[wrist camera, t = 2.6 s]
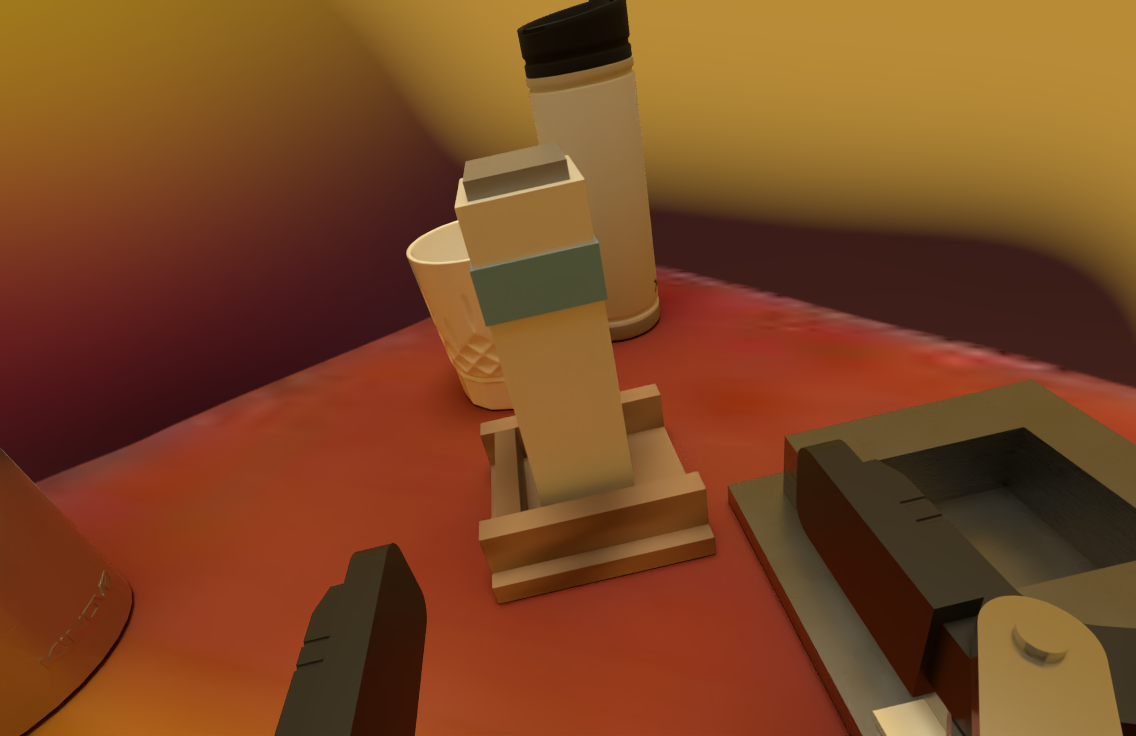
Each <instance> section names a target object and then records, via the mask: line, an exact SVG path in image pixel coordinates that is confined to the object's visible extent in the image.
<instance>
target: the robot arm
mask: <svg viewBox="0 0 1136 736" xmlns="http://www.w3.org/2000/svg"><path fill="white" fill-rule="evenodd" d="M796 507H797V513H798V516H799V520H800V522H801V525H802V527H803V529H804V531H805V533H806V535H807V537H808V538H809V540H810V541H811V543H812V544H813V546H814V547H815V549H816V550H817V552H818V554H819V555H820V557H821V558H822V560H823V561H824V563H825V564H826V566H827V567H828V569H829V570H830V572H831V573H832V575H833V577H834V578H835V580H836V581H837V583H838V584H839V586H840V587H841V589H842V590H843V592H844V593H845V595H846V597H847V598H848V600H849V601H850V603H851V604H852V606H853V607H854V609H855V610H856V612H857V613H858V615H859V617H860V618H861V620H862V621H863V623H864V624H865V626H866V627H867V629H868V630H869V632H870V633H871V635H872V637H873V638H874V640H875V641H876V643H877V644H878V646H879V647H880V649H881V650H882V652H883V653H884V655H885V656H886V658H887V660H888V661H889V663H890V664H891V666H892V667H893V669H894V670H895V672H896V673H897V675H898V676H899V678H900V680H901V681H902V683H903V684H904V686H905V687H906V689H907V690H908V692H909V693H910V695H911V696H912V698H914V697H918V696H922V695H926V694H930V693H935V692H936V693H937V695H938V696H939V698H940V699H941V701H942V702H943V703H944V705H945V706H946V708H947V709H948V713H947V722H946V736H1136V628H1124V627H1110V626H1098V625H1090V624H1085V623H1081V622H1080V621H1079V620H1078V619H1077V618H1075V617H1074V616H1072V615H1071V614H1069V613H1068V612H1066V611H1064V610H1062V609H1060V608H1058V607H1057V606H1054V605H1052V604H1049V603H1047V602H1044V601H1041V600H1038V599H1035V598H1030V597H1025V596H1023V595H1022V594H1020V593H1019V592H1018V591H1017V590H1016V589H1015V588H1014V587H1013V586H1012V585H1011V584H1010V583H1009V582H1008V581H1007V580H1006V579H1005V578H1004V577H1003V576H1002V575H1001V574H1000V573H999V572H998V571H997V570H996V569H995V568H994V567H993V566H992V565H991V564H990V563H989V562H988V561H987V560H986V558H985V557H984V556H983V555H982V554H981V553H980V552H979V551H978V550H977V549H976V548H975V547H974V546H973V545H972V544H971V543H970V542H969V541H968V540H967V539H966V538H965V537H964V536H963V535H962V534H961V533H960V532H959V531H958V530H957V529H956V528H955V527H954V525H953V524H952V523H951V522H950V521H949V520H948V519H947V518H945V519H944V518H943V516H942V513H941V512H940V511H939V510H938V509H937V508H936V507H935V506H934V505H933V504H932V503H931V502H930V501H929V500H928V501H927V500H926V499H925V496H924V495H923V494H922V492H921V491H920V490H919V489H918V488H917V487H916V486H915V485H914V484H913V483H912V482H911V481H910V480H909V479H908V478H907V477H906V476H905V475H904V474H902V473H900V472H898V471H897V470H895V469H893V468H891V467H889V466H888V465H886V464H884V463H882V462H880V461H879V460H877V459H874V460H870V461H865V462H863V461H862V460H861V459H860V458H859V457H858V456H857V455H856V454H855V453H854V451H853V450H852V449H851V448H850V447H849V446H848V445H847V444H846V443H845V442H844V441H842V440H840V439H837V440H833V441H828V442H824V443H820V444H816V445H812V446H807V447H803V448H800V449H799V451H798V456H797V488H796ZM131 605H132V590H131V588H130V586H129V584H128V582H127V580H126V579H125V578H124V577H123V576H122V575H121V574H120V573H119V572H118V571H117V570H116V569H115V568H114V567H113V566H112V565H111V564H110V563H109V562H108V561H107V560H106V558H105V557H104V556H103V555H102V554H101V553H100V552H99V551H98V550H97V549H96V548H95V547H94V546H93V545H92V544H91V543H90V542H89V541H88V540H87V539H86V538H85V536H84V535H83V534H82V533H81V532H80V531H79V530H78V529H77V528H76V526H75V525H74V524H73V523H72V522H71V521H70V520H69V519H68V518H67V517H66V516H65V515H64V514H63V513H62V512H61V511H60V510H59V509H58V508H57V507H56V506H55V505H54V503H53V502H52V501H51V500H50V499H49V498H48V497H47V496H46V495H45V494H44V493H43V492H42V491H41V490H40V489H39V488H38V487H37V486H36V485H35V484H34V483H33V482H32V481H31V480H30V479H29V477H28V476H26V474H25V473H24V472H23V471H22V470H21V469H20V468H19V467H18V466H17V465H16V464H15V463H14V462H13V461H12V460H11V459H10V458H9V457H8V456H7V455H6V454H5V452H4V451H3V450H2V449H1V448H0V736H20V735H21V734H23V733H24V732H26V731H27V730H29V729H30V728H31V727H32V726H34V725H35V724H36V723H37V722H39V721H40V720H41V719H42V718H44V717H45V716H46V715H47V714H49V713H50V712H51V711H53V710H54V709H55V708H56V707H57V706H58V705H59V704H61V703H62V702H63V701H64V700H65V699H66V698H67V697H68V696H69V695H70V694H71V693H72V692H73V691H74V690H75V689H76V688H77V687H79V686H80V685H81V684H82V683H83V681H84V680H85V679H86V678H87V677H88V676H89V675H90V674H91V672H92V671H93V670H94V669H95V668H96V667H97V666H98V664H99V663H100V662H101V661H102V660H103V658H104V657H105V656H106V654H107V653H108V651H109V650H110V649H111V647H112V646H113V644H114V643H115V641H116V640H117V639H118V637H119V635H120V633H121V631H122V629H123V627H124V625H125V623H126V621H127V619H128V616H129V612H130V609H131ZM426 624H427V613H426V605H425V600H424V596H423V593H422V591H421V589H420V587H419V585H418V583H417V581H416V579H415V577H414V575H413V573H412V571H411V569H410V568H409V566H408V564H407V562H406V560H405V558H404V556H403V554H402V552H401V550H400V549H399V547H398V546H397V545H396V544H394V543H392V544H388V545H383V546H379V547H375V548H371V549H366V550H362V551H358V552H355V553H354V554H353V555H352V557H351V559H350V563H349V566H348V570H347V574H346V578H345V581H344V584H340V585H336V586H332V587H330V588H329V590H328V591H327V593H326V594H325V596H324V597H323V598H322V600H321V601H320V603H319V604H318V606H317V607H316V609H315V610H314V612H313V613H312V616H311V619H310V622H309V626H308V629H307V632H306V635H305V638H304V647H302V648H301V651H300V655H299V658H298V661H297V664H296V666H297V671H295V672H294V674H293V677H292V680H291V684H290V687H289V690H288V693H287V697H286V700H285V703H284V706H283V710H282V713H281V716H280V719H279V722H278V726H277V729H276V732H275V735H274V736H415V728H416V719H417V709H418V700H419V690H420V681H421V672H422V662H423V653H424V643H425V634H426Z"/></svg>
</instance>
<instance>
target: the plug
mask: <svg viewBox="0 0 1136 736" xmlns="http://www.w3.org/2000/svg"><path fill="white" fill-rule="evenodd" d="M455 211H456V215H457V218H458V222H459V225H460V228H461V232H462V235H463V239H464V242H465V245H466V249H467V252H468V256H469V259H470V275H471V278H472V282H473V285H474V288H475V292H476V295H477V298H478V302H479V305H480V308H481V312H482V315H483V319H484V322H485V325H486V327H487V326H489V327H490V330H491V334H492V337H493V341H494V344H495V347H496V351H497V354H498V358H499V361H500V364H501V368H502V371H503V375H504V378H505V381H506V385H507V388H508V392H509V395H510V398H511V402H512V405H513V409H514V412H515V415H516V419H517V422H518V426H519V429H520V432H521V436H522V439H523V443H524V446H525V449H526V453H527V456H528V460H529V463H530V466H531V470H532V473H533V477H534V480H535V483H536V487H537V490H538V494H539V497H540V500H541V504H542V507H544V506H549V505H553V504H558V503H562V502H566V501H571V500H575V499H579V498H584V497H588V496H593V495H597V494H601V493H606V492H610V491H614V490H619V489H623V488H628V487H632V486H635V483H634V477H633V471H632V465H631V459H630V453H629V446H628V440H627V434H626V428H625V422H624V416H623V410H622V404H621V398H620V391H619V385H618V379H617V373H616V367H615V361H614V355H613V349H612V343H611V336H610V330H609V324H608V318H607V312H606V306H605V300H607V299H608V298H607V291H606V285H605V279H604V273H603V266H602V260H601V254H600V248H599V242H598V241H597V239H596V237H595V235H594V233H593V226H592V220H591V214H590V208H589V202H588V196H587V190H586V184H585V179H584V177H583V176H582V175H581V173H580V172H579V170H578V169H577V167H576V166H575V164H574V163H573V161H572V160H571V159H570V157H569V156H568V155H566V156H564V155H563V153H562V151H561V150H560V148H559V147H558V145H557V144H556V142H552V143H548V144H543V145H539V146H534V147H530V148H525V149H521V150H516V151H512V152H508V153H502V154H498V155H494V156H489V157H484V158H480V159H475V160H471V161H466V164H465V170H464V176H463V178H462V179H460V181H459V187H458V193H457V198H456V203H455Z"/></svg>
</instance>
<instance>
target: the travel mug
mask: <svg viewBox="0 0 1136 736" xmlns="http://www.w3.org/2000/svg"><path fill="white" fill-rule="evenodd" d="M517 32H518V37H519V42H520V47H521V52H522V57H523V59H524V60H525V62H526V65H525V72H526V77H527V78H526V82H527V86H528V87H529V88H530V89H531V90H530V92H529V97H530V102H531V107H532V112H533V117H534V122H535V127H536V132H537V137H538V142H539V145H543V144H548V143H552V142H556V144H557V145H558V147H559V148H560V150H561V151H562V153H563V155H564V156H566V155H568V156H569V157H570V159H571V160H572V161H573V163H574V164H575V166H576V167H577V169H578V170H579V172H580V173H581V175H582V176H583V177H584V179H585V184H586V190H587V196H588V202H589V208H590V214H591V220H592V226H593V233H594V235H595V237H596V239H597V241H598V242H599V248H600V254H601V260H602V266H603V273H604V279H605V285H606V291H607V298H608V299H607V300H605V306H606V312H607V318H608V324H609V330H610V336H611V341H618V340H624V339H629V338H632V337H635V336H638V335H640V334H642V333H644V332H646V331H647V330H649V329H650V328H652V327H653V326H654V325H655V324H656V322H657V321H658V319H659V317H660V307H659V298H658V288H657V279H656V269H655V260H654V251H653V241H652V233H651V222H650V213H649V203H648V194H647V184H646V175H645V166H644V156H643V147H642V137H641V128H640V119H639V110H638V100H637V91H636V82H635V72H634V71H633V70H632V69H631V68H632V66H633V56H632V52H631V45H630V43H629V42H628V37H629V35H630V34H629V25H628V15H627V7H626V0H589V2H586V3H583V4H579V5H576V6H573V7H570V8H567V9H564V10H561V11H558V12H555V13H553V14H550V15H548V16H545V17H542V18H539V19H537V20H534V21H532V22H530V23H528V24H526V25H524V26H522V27H520V28H519V29H518V30H517Z"/></svg>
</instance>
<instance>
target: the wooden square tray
mask: <svg viewBox="0 0 1136 736" xmlns="http://www.w3.org/2000/svg"><path fill="white" fill-rule="evenodd" d="M620 398H621V404H622V410H623V416H624V422H625V428H626V434H627V440H628V446H629V453H630V459H631V465H632V471H633V477H634V483H635V486H632V487H628V488H623V489H619V490H614V491H610V492H606V493H601V494H597V495H593V496H588V497H584V498H579V499H575V500H571V501H566V502H562V503H558V504H553V505H549V506H544V507H542V504H541V500H540V497H539V494H538V490H537V487H536V483H535V480H534V477H533V473H532V470H531V466H530V463H529V460H528V456H527V453H526V449H525V446H524V443H523V439H522V436H521V432H520V429H519V426H518V422H517V419H516V415H515V416H511V417H506V418H502V419H498V420H493V421H489V422H484V423H481V432H480V436H481V439H482V442H483V444H484V447H485V450H486V453H487V456H488V459H489V462H490V465H491V519H488V520H483V521H479V542H480V545H481V547H482V550H483V552H484V555H485V557H486V560H487V562H488V565H489V567H490V570H491V572H492V589H493V592H494V594H495V597H496V599H497V601H498V604H500V603H505V602H509V601H513V600H518V599H522V598H526V597H531V596H535V595H539V594H544V593H548V592H552V591H557V590H561V589H565V588H570V587H574V586H578V585H583V584H587V583H591V582H596V581H600V580H604V579H609V578H613V577H617V576H622V575H626V574H630V573H635V572H639V571H643V570H648V569H652V568H656V567H661V566H665V565H669V564H674V563H678V562H682V561H687V560H691V559H695V558H700V557H704V556H708V555H713V554H716V553H715V537H714V535H713V533H712V531H711V528H710V526H709V524H708V510H707V496H706V488H705V486H704V484H703V481H702V479H701V477H700V475H699V473H698V471H697V472H693V473H689V474H685V471H684V469H683V467H682V465H681V463H680V460H679V458H678V456H677V454H676V452H675V449H674V447H673V445H672V443H671V441H670V438H669V436H668V434H667V432H666V430H665V427H664V422H663V413H662V405H661V396H660V393H659V391H658V389H657V387H656V385H655V384H652V385H648V386H643V387H639V388H634V389H630V390H625V391H621V392H620Z"/></svg>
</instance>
